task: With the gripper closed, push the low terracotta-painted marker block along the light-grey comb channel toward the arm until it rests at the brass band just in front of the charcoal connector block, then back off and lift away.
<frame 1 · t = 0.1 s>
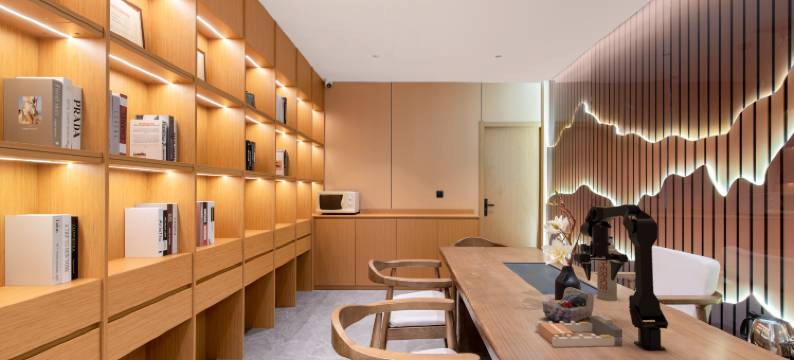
hand: (600, 280, 165), 15 cm above the table, tool pointing down, fingers open, 9 cm apart
cell model: (568, 319, 166), on the table
marker block: (556, 339, 144), on the table
thermos bottle: (607, 298, 197), on the table
comb channel: (576, 337, 144), on the table
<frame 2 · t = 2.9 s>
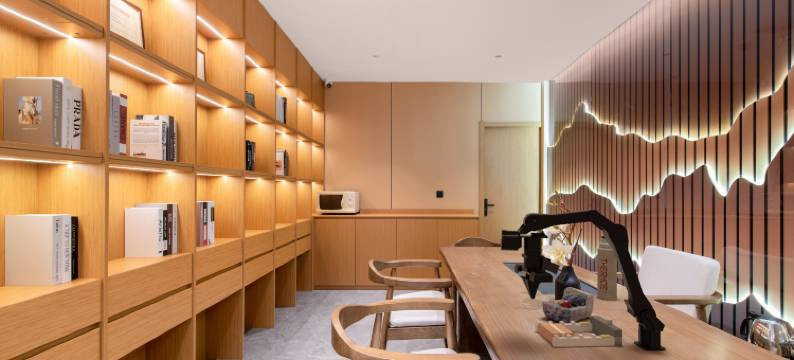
hand: (532, 299, 144), 13 cm above the table, tool pointing down, fingers closed
nothing on the table moved.
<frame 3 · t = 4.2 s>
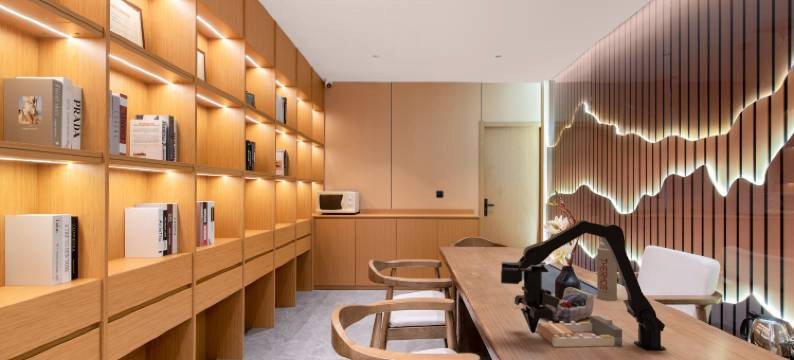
hand: (532, 332, 143), 2 cm above the table, tool pointing down, fingers closed
nothing on the table moved.
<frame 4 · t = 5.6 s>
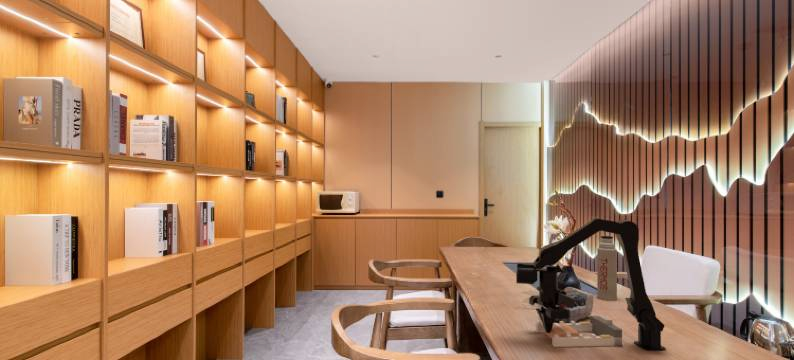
hand: (548, 332, 144), 2 cm above the table, tool pointing down, fingers closed
marker block: (561, 338, 144), on the table
everything else where it was.
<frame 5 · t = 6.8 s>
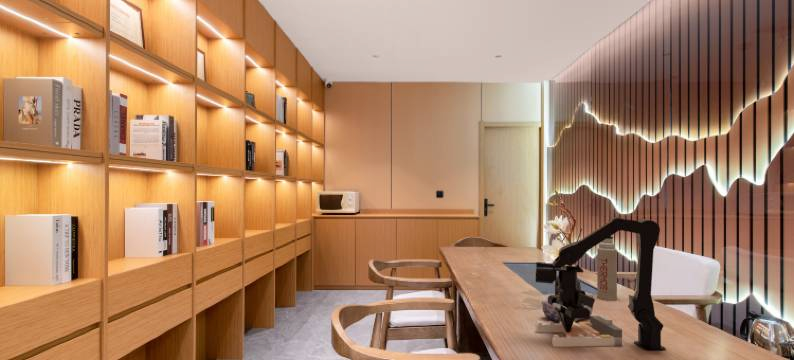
hand: (567, 332, 144), 2 cm above the table, tool pointing down, fingers closed, pressing on marker block
marker block: (581, 338, 144), on the table, touching gripper
everything else where it was.
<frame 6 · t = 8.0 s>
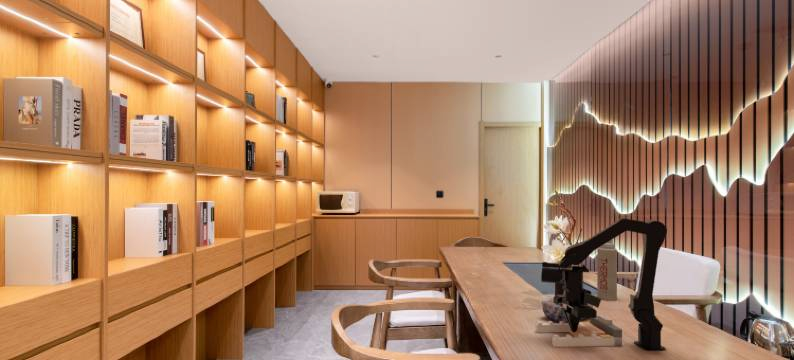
hand: (573, 331, 144), 2 cm above the table, tool pointing down, fingers closed
marker block: (587, 338, 144), on the table
everything else where it was.
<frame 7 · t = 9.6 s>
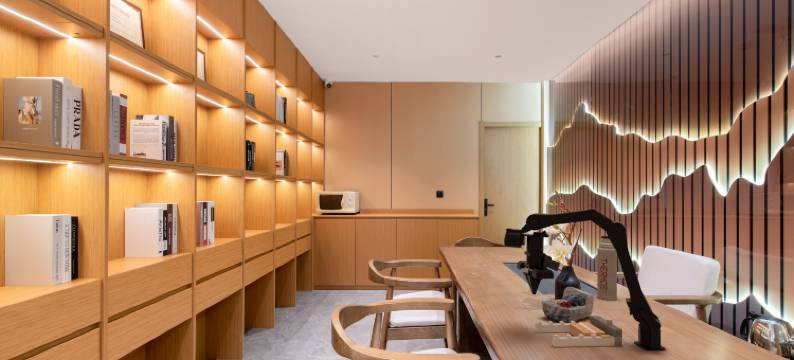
hand: (534, 294, 152), 12 cm above the table, tool pointing down, fingers closed
nothing on the table moved.
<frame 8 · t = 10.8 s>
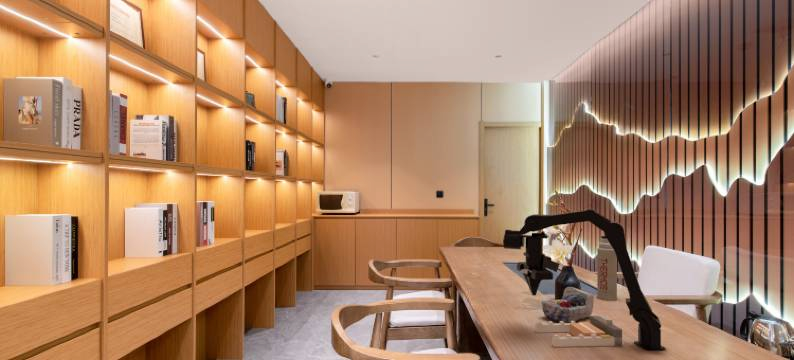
hand: (533, 295, 153), 12 cm above the table, tool pointing down, fingers closed
nothing on the table moved.
at the end: marker block inside the target area (0.6 cm from its centre), on the table; marker block tilted 0° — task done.
